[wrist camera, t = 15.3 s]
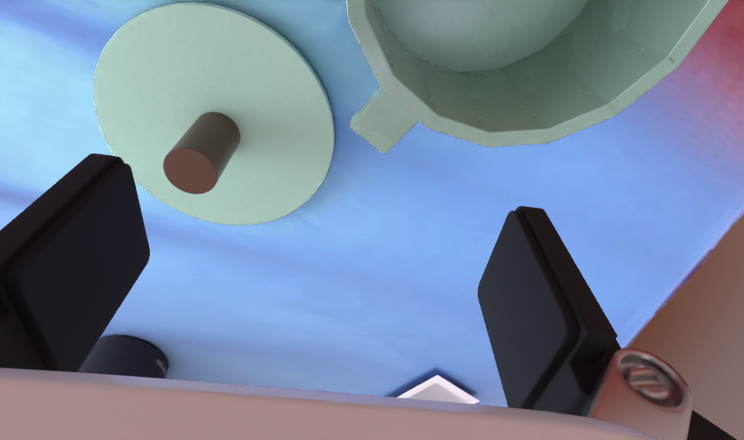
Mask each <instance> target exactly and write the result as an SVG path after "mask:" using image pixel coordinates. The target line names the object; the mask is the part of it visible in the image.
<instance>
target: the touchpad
mask: <svg viewBox="0 0 744 440" xmlns="http://www.w3.org/2000/svg"><path fill="white" fill-rule="evenodd" d="M397 398H409V399H421V400H432V401H444V402H456V403H467V404H475V403H477V402H479V400H477V399H476V398H474V397H473V396H471V395H469V394H468V393H466V392H464V391H463V390H461V389H460V388H458V387H456V386H455V385H453V384H452V383H450V382H448V381H447V380H445V379H444V378H442V377H440V376H439V375H436V376H434V377H432V378H431V379H429V380H427V381H425V382H423V383H422V384H420V385H418V386H416V387H414V388H413V389H411V390H409V391H407V392H405V393H403V394H402V395H400V396H398V397H397Z"/></svg>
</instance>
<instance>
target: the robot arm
mask: <svg viewBox="0 0 744 440" xmlns="http://www.w3.org/2000/svg"><path fill="white" fill-rule="evenodd" d="M149 256H150V248H149V244H148V240H147V235H146V231H145V226H144V222H143V217H142V213H141V208H140V204H139V200H138V195H137V191H136V186H135V182H134V177H133V173H132V169H131V167H130V165H129V164H126V163H124V161H123V160H122V158H120V157H119V156H111V155H102V154H90V155H88V156H87V157H86V158H85V159H84V160H82V161H81V162H80V163H79V164H78V165H77V166H75V167H74V168H73V169H72V170H71V171H70V172H68V173H67V174H66V175H65V176H64V177H63V178H61V179H60V180H59V181H58V182H57V183H56V184H54V185H53V186H52V187H51V188H50V189H48V190H47V191H46V192H45V193H44V194H43V195H41V196H40V197H39V198H38V199H37V200H36V201H34V202H33V203H32V204H31V205H30V206H29V207H27V208H26V209H25V210H24V211H23V212H22V213H20V214H19V215H18V216H17V217H16V218H14V219H13V220H12V221H11V222H10V223H9V224H7V225H6V226H5V227H4V228H3V229H2V230H0V440H736V439H735V438H734V437H732V436H730V435H729V434H728V433H726V432H725V431H723V430H722V429H720V428H718V427H717V426H716V425H714V424H713V423H711V422H709V421H708V420H707V419H705V418H703V417H702V416H701V415H699V414H698V413H696V412H695V411H693V410H692V408H693V396H692V393H691V391H690V389H689V387H688V384H687V383H686V382H685V380H684V379H683V378H682V376H681V375H680V374H679V373H678V372H677V371H676V370H675V369H674V368H673V367H672V366H671V365H669V364H668V363H667V362H665V361H663V360H662V359H661V358H659V357H658V356H655V355H653V354H651V353H649V352H647V351H644V350H641V349H637V348H623V349H621V347H620V346H619V344H618V342H617V340H616V337H617V334H616V333H615V331H614V329H613V328H612V326H611V324H610V322H609V321H608V319H607V317H606V316H605V314H604V312H603V310H602V309H601V307H600V305H599V304H598V302H597V300H596V298H595V297H594V295H593V293H592V291H591V290H590V288H589V286H588V285H587V283H586V281H585V279H584V278H583V276H582V274H581V273H580V271H579V269H578V267H577V266H576V264H575V262H574V260H573V259H572V257H571V255H570V254H569V252H568V250H567V248H566V247H565V245H564V243H563V242H562V240H561V238H560V236H559V235H558V233H557V231H556V230H555V228H554V226H553V224H552V223H551V221H550V219H549V217H548V216H547V214H546V212H545V211H544V210H543V209H541V208H533V207H525V206H520V207H518V208H517V209H516V211H510V212H509V214H508V216H507V218H506V220H505V223H504V225H503V228H502V230H501V232H500V235H499V237H498V240H497V242H496V244H495V247H494V249H493V252H492V254H491V256H490V259H489V261H488V264H487V266H486V268H485V271H484V273H483V276H482V278H481V280H480V283H479V286H478V299H479V303H480V306H481V310H482V314H483V317H484V321H485V325H486V328H487V332H488V335H489V339H490V343H491V346H492V350H493V353H494V357H495V361H496V364H497V368H498V372H499V375H500V379H501V382H502V386H503V390H504V393H505V397H506V400H507V404H508V407H499V406H489V405H479V404H467V403H456V402H444V401H432V400H421V399H409V398H397V397H386V396H374V395H362V394H350V393H338V392H325V391H313V390H301V389H288V388H276V387H263V386H251V385H238V384H226V383H213V382H200V381H186V380H173V379H160V378H146V377H133V376H120V375H106V374H93V373H79V372H78V371H79V369H80V367H81V366H82V364H83V363H84V361H85V360H86V358H87V357H88V355H89V353H90V352H91V350H92V349H93V347H94V346H95V344H96V343H97V341H98V339H99V338H100V336H101V335H102V333H103V332H104V330H105V329H106V327H107V325H108V324H109V322H110V321H111V319H112V318H113V316H114V315H115V313H116V311H117V310H118V308H119V307H120V305H121V304H122V302H123V301H124V299H125V297H126V296H127V294H128V293H129V291H130V290H131V288H132V286H133V285H134V283H135V282H136V280H137V279H138V277H139V276H140V274H141V272H142V271H143V269H144V268H145V266H146V265H147V263H148V260H149Z"/></svg>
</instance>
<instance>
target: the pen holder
mask: <svg viewBox="0 0 744 440" xmlns="http://www.w3.org/2000/svg"><path fill="white" fill-rule="evenodd" d="M167 370H168V365H167V361H166V359H165V357H164V355H163V354H162V353H161V352H160V351H159V350H158V349H157V348H155V347H154V346H152V345H151V344H149V343H147V342H144V341H142V340H139V339H136V338H132V337H127V336H108V337H104V338H101V339H98V341H97V343H96V344H95V346H94V347H93V349H92V350H91V352H90V353H89V355H88V357H87V358H86V360H85V361H84V363H83V364H82V366H81V367H80V369H79V371H78V372H79V373H93V374H106V375H120V376H133V377H146V378H160V379H165V376H166V374H167Z"/></svg>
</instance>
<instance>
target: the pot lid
mask: <svg viewBox="0 0 744 440" xmlns="http://www.w3.org/2000/svg"><path fill="white" fill-rule="evenodd" d="M93 99H94V106H95V113H96V116H97V120H98V123H99V127H100V129H101V132H102V134H103V136H104V139H105V141H106V143H107V144H108V146H109V148H110V150H111V152H112V153H113V155H114V156H119V157H120V158H122V160H123V161H124V163H126V164H129V165H130V167H131V169H132V173H133V177H134V180H135V181H136V182H137V183H138V184H139V185H140V186H141V187H142V188H143V189H145V190H146V191H147V192H149V193H150V194H151V195H152V196H154V197H155V198H157V199H158V200H160V201H161V202H163V203H165V204H166V205H168V206H170V207H172V208H174V209H176V210H178V211H180V212H182V213H184V214H187V215H189V216H192V217H194V218H198V219H201V220H204V221H208V222H213V223H218V224H226V225H252V224H260V223H265V222H269V221H273V220H275V219H278V218H281V217H284V216H285V215H287V214H289V213H291V212H293V211H295V210H296V209H298V208H299V207H301V206H302V205H303V204H305V203H306V202H307V201H308V200H309V199H310V198H311V197H312V196H313V195H314V194H315V192H316V191H317V190H318V189H319V187H320V186H321V184H322V182H323V181H324V179H325V177H326V175H327V172H328V170H329V167H330V164H331V160H332V156H333V151H334V140H335V132H334V120H333V115H332V110H331V106H330V104H329V101H328V98H327V95H326V92H325V90H324V88H323V86H322V84H321V82H320V80H319V78H318V77H317V75H316V74H315V72H314V71H313V69H312V67H311V66H310V64H309V63H308V62H307V61H306V60H305V58H304V57H303V56H302V55H301V54H300V52H299V51H298V50H297V49H296V48H295V47H294V46H293V45H291V44H290V43H289V42H288V41H287V40H286V39H285V38H284V37H283V36H281V35H280V34H279V33H277V32H276V31H274V30H273V29H272V28H270V27H269V26H267V25H266V24H264V23H262V22H260V21H259V20H257V19H255V18H253V17H251V16H249V15H246V14H244V13H242V12H239V11H237V10H234V9H230V8H227V7H223V6H220V5H215V4H208V3H200V2H180V3H173V4H167V5H162V6H159V7H156V8H153V9H150V10H147V11H145V12H143V13H141V14H139V15H137V16H136V17H134V18H132V19H130V20H129V21H128V22H126V23H125V24H124V25H123V26H121V27H120V28H119V29H118V30H117V31H116V32H115V33H114V34H113V36H112V37H111V38H110V39H109V40H108V42H107V44H106V45H105V47H104V49H103V51H102V52H101V55H100V57H99V60H98V63H97V66H96V70H95V76H94V81H93Z"/></svg>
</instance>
